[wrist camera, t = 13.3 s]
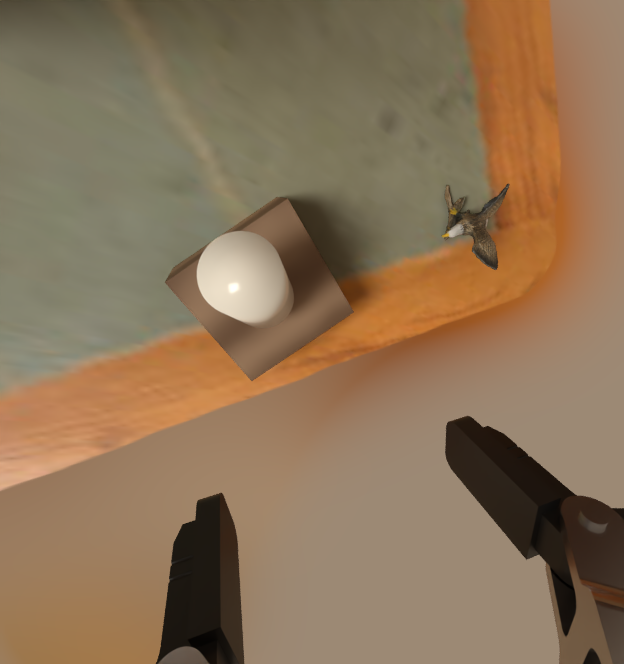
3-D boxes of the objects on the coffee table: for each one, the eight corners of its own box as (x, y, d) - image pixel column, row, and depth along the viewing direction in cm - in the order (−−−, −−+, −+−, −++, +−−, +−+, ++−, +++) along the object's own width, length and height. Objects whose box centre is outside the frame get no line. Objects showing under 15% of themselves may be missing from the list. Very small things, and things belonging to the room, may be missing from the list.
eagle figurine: (413, 203, 35) (471, 207, 27) (470, 170, 36) (543, 165, 28) (433, 265, 39) (489, 285, 31) (484, 235, 39) (553, 247, 31)
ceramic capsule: (220, 295, 28) (179, 269, 20) (266, 255, 28) (243, 213, 20) (260, 341, 28) (234, 333, 20) (306, 299, 28) (300, 276, 20)
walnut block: (173, 266, 32) (164, 282, 27) (276, 197, 32) (287, 198, 27) (247, 354, 38) (251, 381, 32) (334, 294, 37) (353, 312, 32)
